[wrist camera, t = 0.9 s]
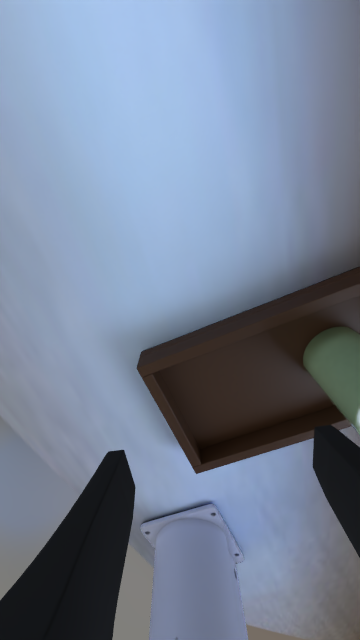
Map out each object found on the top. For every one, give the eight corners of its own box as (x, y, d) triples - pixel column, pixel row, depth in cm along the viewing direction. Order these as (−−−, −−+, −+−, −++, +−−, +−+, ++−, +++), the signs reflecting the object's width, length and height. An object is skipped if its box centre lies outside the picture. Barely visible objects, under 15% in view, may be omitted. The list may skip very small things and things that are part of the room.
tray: (515, 347, 19) (557, 363, 17) (194, 450, 23) (195, 474, 21) (521, 203, 16) (575, 200, 14) (140, 351, 19) (136, 368, 17)
